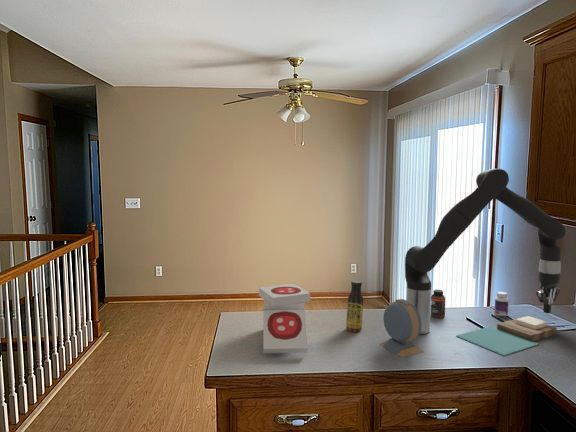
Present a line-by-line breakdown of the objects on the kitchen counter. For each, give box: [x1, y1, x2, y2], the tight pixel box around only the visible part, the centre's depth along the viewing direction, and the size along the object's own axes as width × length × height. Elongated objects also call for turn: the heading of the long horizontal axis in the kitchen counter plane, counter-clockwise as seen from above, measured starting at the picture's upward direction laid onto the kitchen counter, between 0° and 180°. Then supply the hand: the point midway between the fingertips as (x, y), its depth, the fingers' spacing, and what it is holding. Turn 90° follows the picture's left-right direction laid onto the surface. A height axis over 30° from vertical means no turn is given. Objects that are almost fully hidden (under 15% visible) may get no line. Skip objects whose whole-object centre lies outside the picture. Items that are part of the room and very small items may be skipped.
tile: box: [515, 315, 549, 329], centre depth 172 cm, size 8×8×2 cm
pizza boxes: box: [258, 283, 311, 354], centre depth 160 cm, size 19×30×18 cm, turn 3°
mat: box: [455, 325, 540, 357], centre depth 162 cm, size 20×20×1 cm
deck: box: [496, 316, 557, 342], centre depth 171 cm, size 16×14×2 cm
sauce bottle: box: [345, 279, 364, 333], centre depth 172 cm, size 7×6×20 cm
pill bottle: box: [493, 291, 510, 317], centre depth 191 cm, size 5×5×10 cm
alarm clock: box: [379, 298, 425, 358], centre depth 155 cm, size 14×10×18 cm
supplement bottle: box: [430, 289, 446, 319], centre depth 189 cm, size 6×6×11 cm
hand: (547, 312), depth 177 cm, fingers closed
